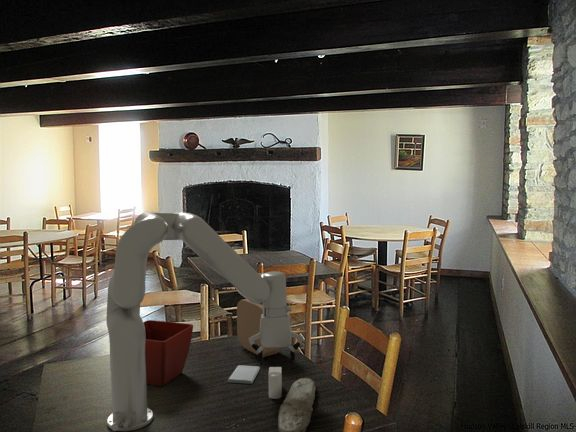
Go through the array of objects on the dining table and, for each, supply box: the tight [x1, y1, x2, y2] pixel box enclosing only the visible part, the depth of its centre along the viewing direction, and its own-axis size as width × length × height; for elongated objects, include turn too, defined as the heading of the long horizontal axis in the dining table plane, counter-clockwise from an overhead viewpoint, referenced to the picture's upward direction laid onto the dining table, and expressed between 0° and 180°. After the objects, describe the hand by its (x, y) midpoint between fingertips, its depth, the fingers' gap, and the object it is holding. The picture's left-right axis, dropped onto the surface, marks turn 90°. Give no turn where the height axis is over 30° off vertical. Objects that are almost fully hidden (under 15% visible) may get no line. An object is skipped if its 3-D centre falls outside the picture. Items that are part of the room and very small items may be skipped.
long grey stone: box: [277, 377, 317, 432], centre depth 152 cm, size 35×5×10 cm
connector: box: [267, 366, 283, 400], centre depth 164 cm, size 11×4×7 cm, turn 0°
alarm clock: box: [236, 298, 285, 358], centre depth 199 cm, size 21×10×22 cm, turn 37°
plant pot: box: [143, 319, 194, 387], centre depth 175 cm, size 19×19×17 cm
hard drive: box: [227, 364, 261, 385], centre depth 177 cm, size 2×8×12 cm
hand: (276, 363), depth 163 cm, fingers open, 9 cm apart
